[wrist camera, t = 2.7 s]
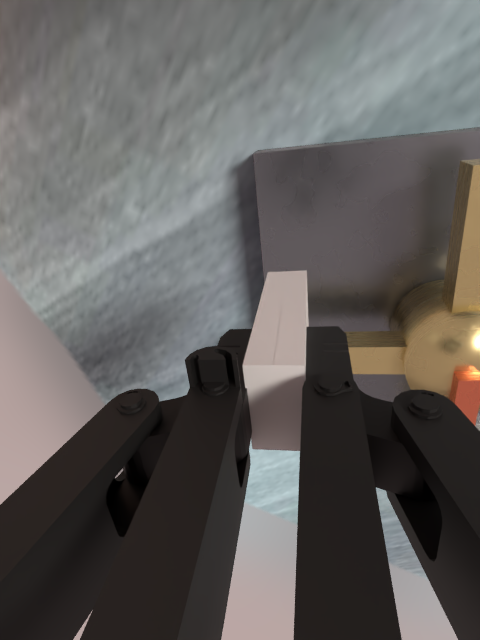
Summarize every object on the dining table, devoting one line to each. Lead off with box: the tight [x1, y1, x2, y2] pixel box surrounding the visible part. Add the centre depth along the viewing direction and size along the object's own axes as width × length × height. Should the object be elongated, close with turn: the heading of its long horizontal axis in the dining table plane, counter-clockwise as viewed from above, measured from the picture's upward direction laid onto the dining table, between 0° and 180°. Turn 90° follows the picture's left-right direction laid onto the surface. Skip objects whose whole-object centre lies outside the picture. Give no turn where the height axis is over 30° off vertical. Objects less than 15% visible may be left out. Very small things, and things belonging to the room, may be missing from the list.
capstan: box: [345, 159, 480, 425], centre depth 23 cm, size 20×20×6 cm
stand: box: [253, 127, 480, 431], centre depth 25 cm, size 22×22×4 cm
